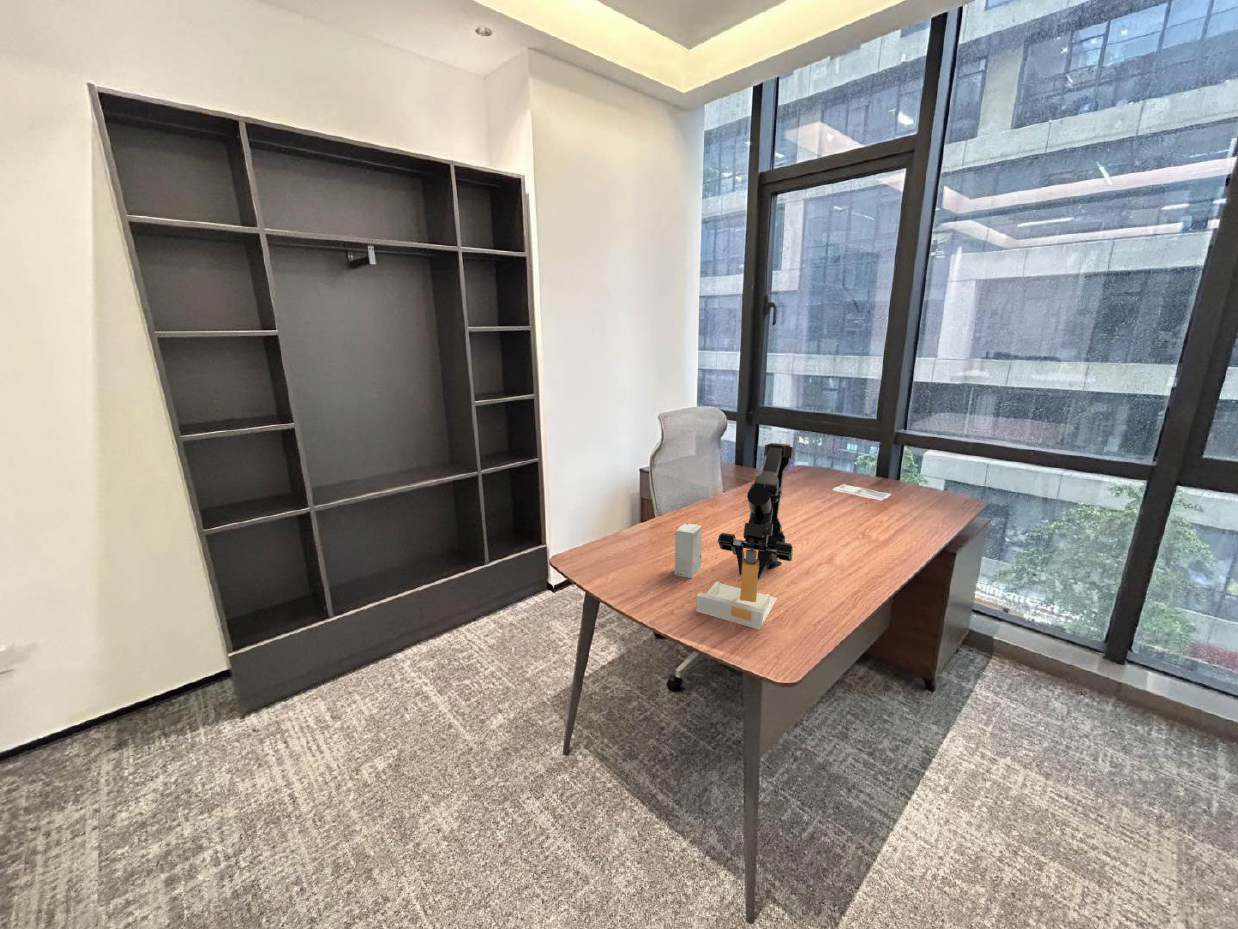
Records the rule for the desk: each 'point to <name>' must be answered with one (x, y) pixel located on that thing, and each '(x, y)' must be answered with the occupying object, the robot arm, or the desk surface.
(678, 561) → the skincare box
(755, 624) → the white ribbed tray
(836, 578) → the desk surface
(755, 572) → the orange plug
